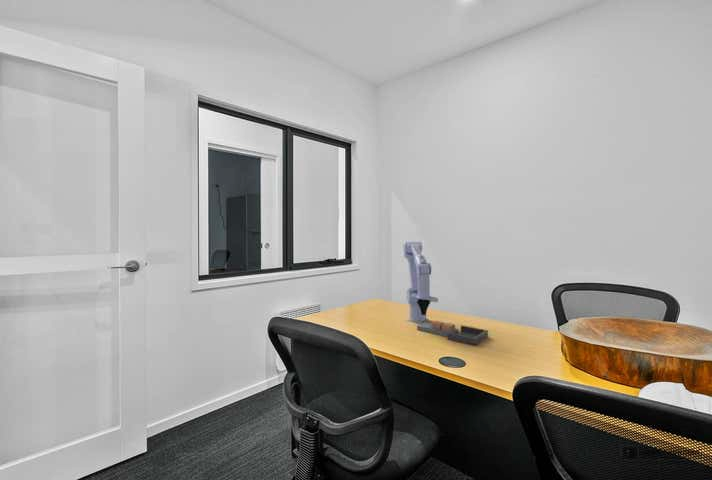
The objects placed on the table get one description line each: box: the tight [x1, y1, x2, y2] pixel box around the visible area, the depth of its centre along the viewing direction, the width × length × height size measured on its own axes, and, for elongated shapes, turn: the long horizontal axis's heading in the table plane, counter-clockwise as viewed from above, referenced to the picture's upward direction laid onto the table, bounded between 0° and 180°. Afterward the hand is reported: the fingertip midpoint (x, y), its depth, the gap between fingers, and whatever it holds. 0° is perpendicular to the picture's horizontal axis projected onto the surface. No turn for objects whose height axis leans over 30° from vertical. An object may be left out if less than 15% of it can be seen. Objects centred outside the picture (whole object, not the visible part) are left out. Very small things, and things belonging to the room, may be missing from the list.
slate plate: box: [416, 321, 460, 338], centre depth 160 cm, size 8×18×2 cm, turn 49°
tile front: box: [442, 322, 456, 332], centre depth 156 cm, size 4×4×2 cm
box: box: [447, 325, 489, 346], centre depth 150 cm, size 15×12×3 cm
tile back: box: [431, 320, 445, 329], centre depth 159 cm, size 4×4×2 cm
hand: (423, 314), depth 164 cm, fingers closed
